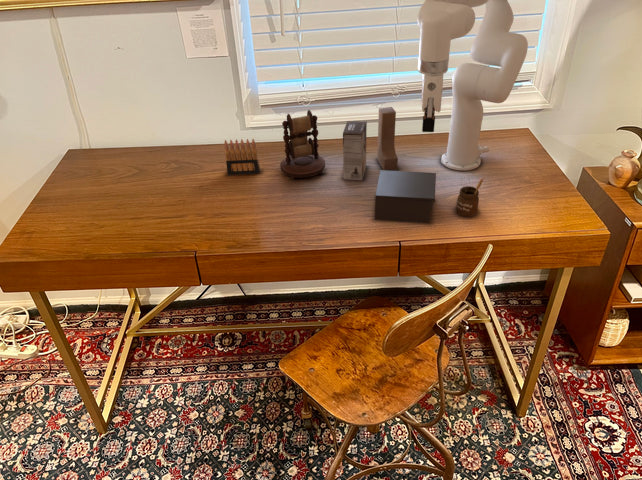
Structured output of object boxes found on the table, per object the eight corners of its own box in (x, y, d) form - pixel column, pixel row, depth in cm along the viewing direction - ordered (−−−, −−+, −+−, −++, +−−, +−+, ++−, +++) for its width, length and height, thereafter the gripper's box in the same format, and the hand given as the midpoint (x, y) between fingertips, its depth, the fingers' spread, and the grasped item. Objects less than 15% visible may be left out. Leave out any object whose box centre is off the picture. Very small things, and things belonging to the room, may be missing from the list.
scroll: (316, 156, 188) (314, 99, 175) (331, 176, 177) (330, 117, 164) (275, 164, 184) (270, 107, 172) (288, 185, 174) (283, 126, 161)
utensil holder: (462, 203, 160) (468, 167, 153) (481, 211, 157) (488, 174, 149) (451, 212, 157) (456, 175, 150) (470, 220, 154) (476, 182, 146)
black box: (430, 196, 164) (432, 175, 160) (429, 223, 154) (431, 201, 149) (379, 193, 167) (380, 172, 163) (374, 219, 156) (375, 198, 152)
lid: (435, 175, 160) (436, 172, 159) (434, 201, 149) (435, 198, 148) (380, 172, 163) (380, 170, 162) (375, 197, 152) (375, 195, 151)
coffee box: (347, 165, 182) (346, 120, 171) (366, 167, 180) (367, 120, 170) (342, 179, 175) (342, 132, 164) (362, 180, 173) (363, 133, 163)
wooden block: (397, 170, 178) (400, 117, 166) (384, 171, 177) (386, 119, 166) (389, 157, 185) (392, 106, 173) (376, 159, 184) (378, 107, 173)
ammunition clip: (227, 174, 181) (222, 141, 173) (228, 172, 182) (222, 138, 174) (259, 173, 180) (255, 139, 173) (260, 170, 182) (256, 137, 174)
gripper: (448, 75, 133) (441, 144, 145) (448, 54, 144) (441, 119, 156) (417, 75, 135) (413, 143, 147) (419, 54, 146) (415, 118, 158)
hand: (428, 130), depth 151 cm, fingers closed
